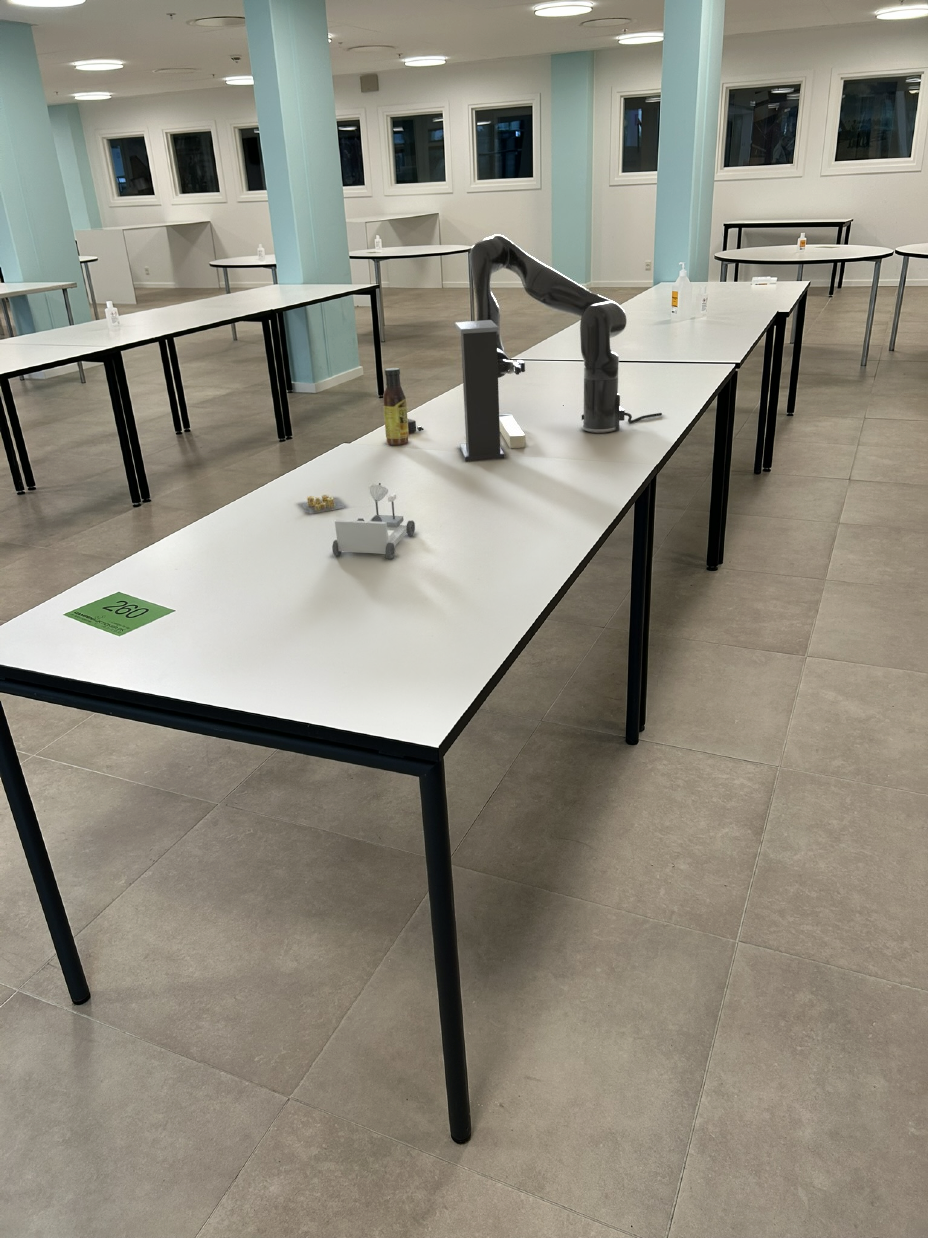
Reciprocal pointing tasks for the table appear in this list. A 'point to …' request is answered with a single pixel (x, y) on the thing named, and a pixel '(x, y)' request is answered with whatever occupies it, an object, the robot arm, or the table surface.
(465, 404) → the dark grey pillar
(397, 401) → the sauce bottle
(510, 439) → the cream rectangular bar
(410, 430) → the wireless earbuds
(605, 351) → the robot arm
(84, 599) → the table surface
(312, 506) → the dice set
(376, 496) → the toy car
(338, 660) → the table surface
